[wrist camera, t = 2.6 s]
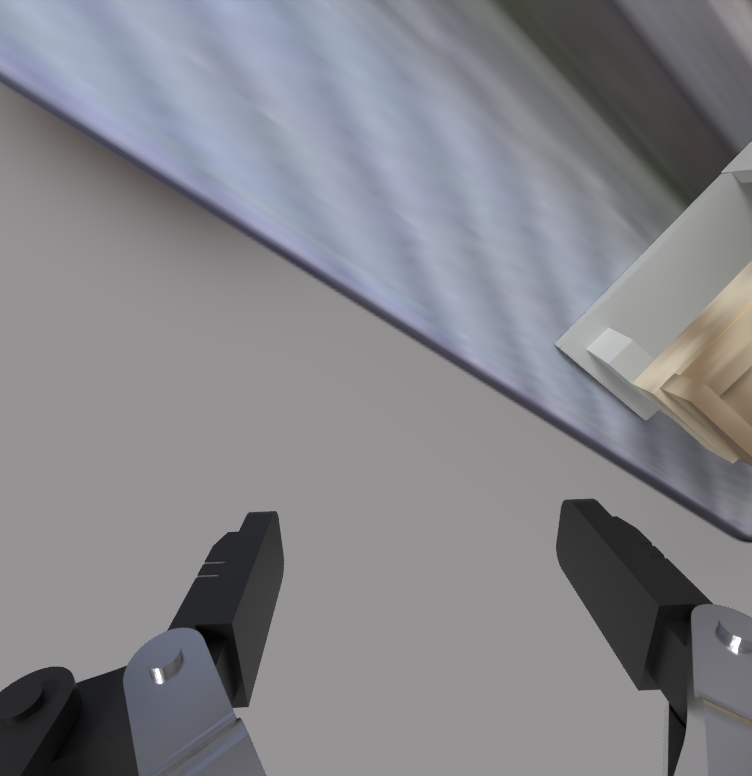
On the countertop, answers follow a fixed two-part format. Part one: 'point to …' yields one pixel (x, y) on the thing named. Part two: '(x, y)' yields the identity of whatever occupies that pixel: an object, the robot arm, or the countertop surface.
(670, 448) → the countertop surface
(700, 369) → the beam
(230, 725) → the robot arm
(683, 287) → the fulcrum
